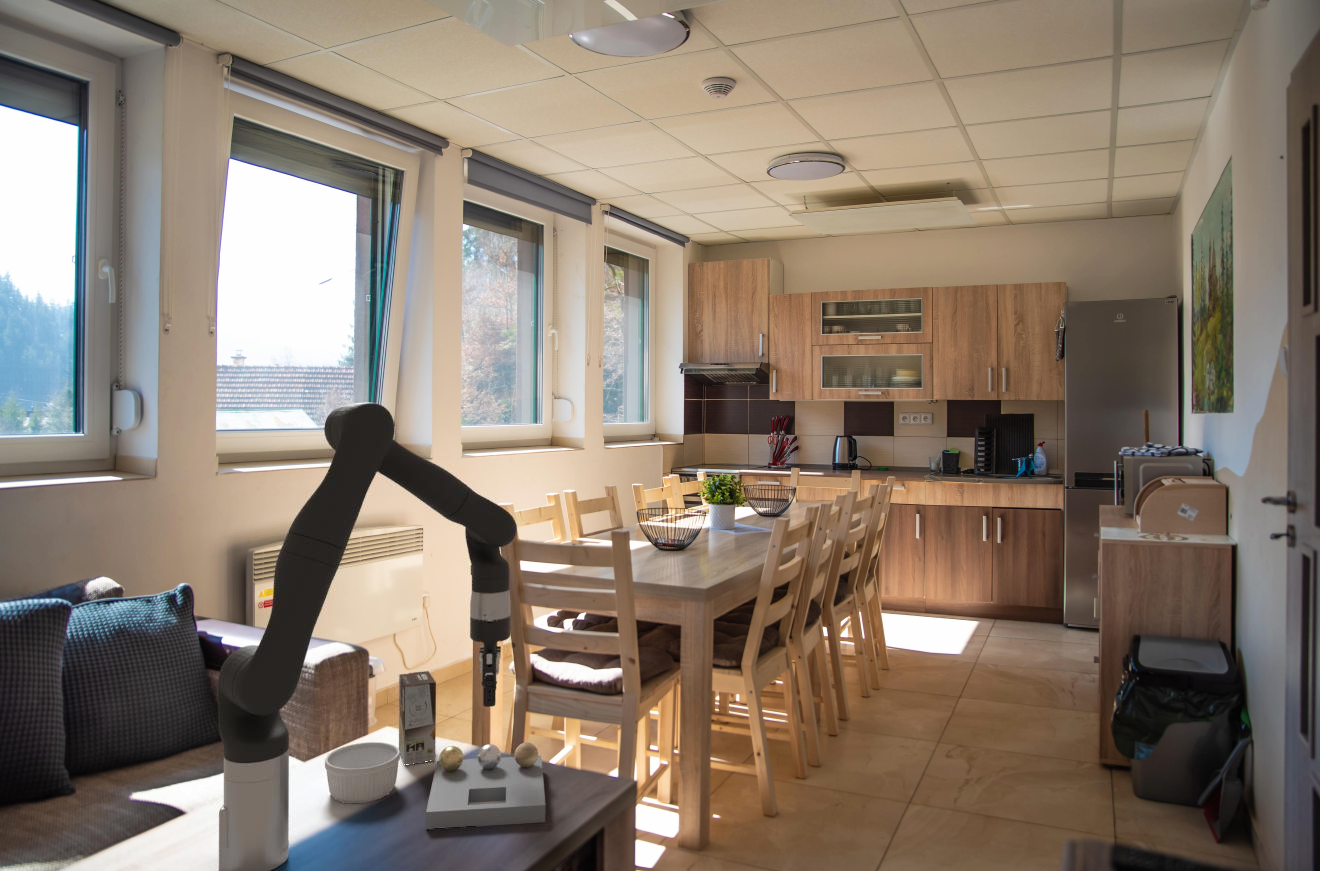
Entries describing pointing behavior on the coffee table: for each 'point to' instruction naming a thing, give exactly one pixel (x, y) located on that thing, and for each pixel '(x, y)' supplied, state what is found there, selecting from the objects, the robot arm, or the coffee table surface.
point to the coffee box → (417, 717)
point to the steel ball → (489, 756)
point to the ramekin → (362, 771)
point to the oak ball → (526, 754)
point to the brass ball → (451, 758)
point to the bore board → (486, 795)
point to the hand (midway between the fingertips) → (490, 698)
